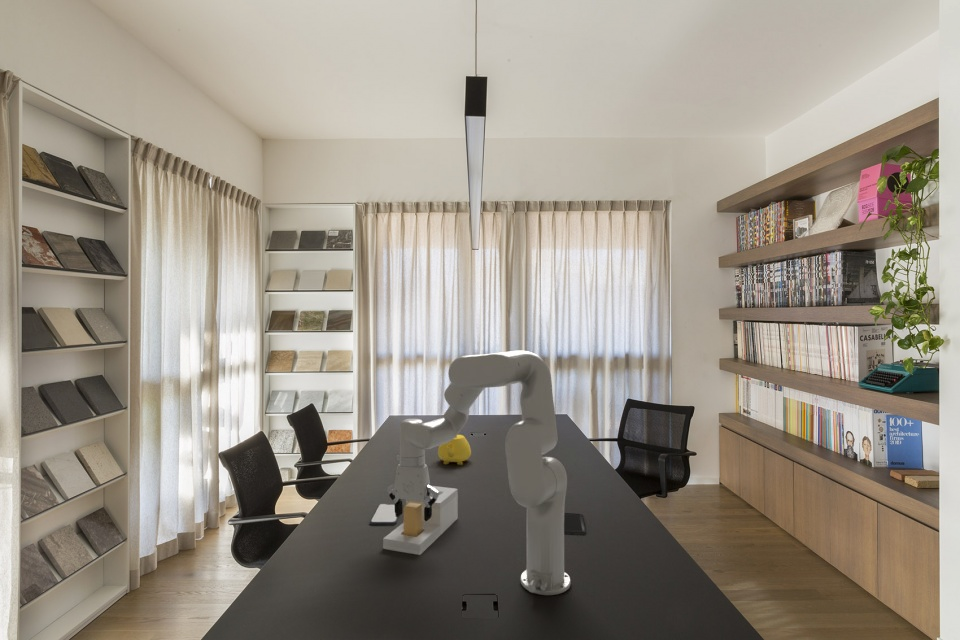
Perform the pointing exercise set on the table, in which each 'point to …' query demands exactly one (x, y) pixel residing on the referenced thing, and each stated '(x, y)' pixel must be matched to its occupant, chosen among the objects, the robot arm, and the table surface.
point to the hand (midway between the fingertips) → (413, 517)
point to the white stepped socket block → (426, 524)
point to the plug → (413, 519)
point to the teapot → (455, 450)
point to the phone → (574, 524)
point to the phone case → (384, 515)
